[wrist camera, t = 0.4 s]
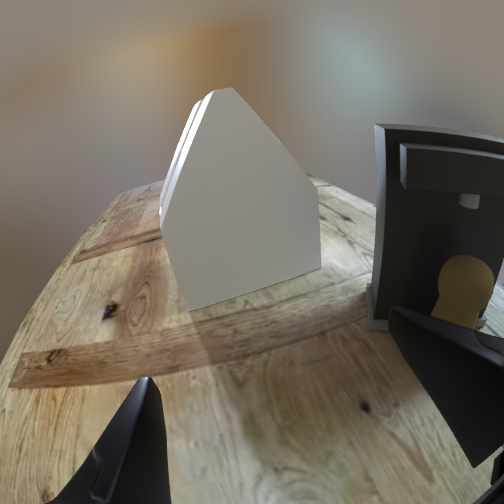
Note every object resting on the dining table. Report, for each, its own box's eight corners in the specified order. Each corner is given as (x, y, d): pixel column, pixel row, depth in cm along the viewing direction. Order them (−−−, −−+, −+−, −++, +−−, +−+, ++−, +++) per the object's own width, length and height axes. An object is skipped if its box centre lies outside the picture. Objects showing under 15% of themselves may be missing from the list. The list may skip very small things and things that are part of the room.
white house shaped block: (188, 311, 34) (130, 109, 22) (177, 259, 47) (140, 117, 35) (321, 267, 38) (305, 81, 26) (278, 230, 51) (258, 94, 39)
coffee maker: (489, 342, 19) (543, 155, 10) (367, 348, 24) (384, 132, 15) (467, 290, 27) (493, 135, 18) (366, 290, 32) (368, 123, 23)
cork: (471, 361, 19) (513, 270, 13) (434, 393, 18) (482, 299, 12) (436, 328, 24) (462, 238, 19) (398, 353, 23) (423, 258, 17)
